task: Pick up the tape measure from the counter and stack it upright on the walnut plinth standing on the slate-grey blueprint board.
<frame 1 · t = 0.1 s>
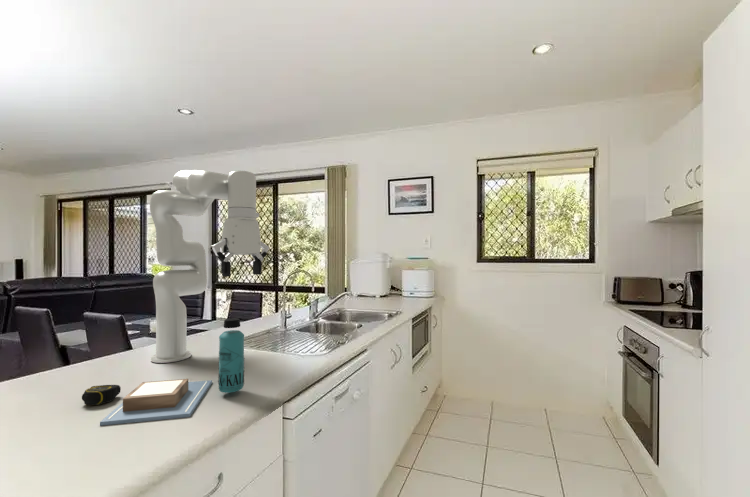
hand: (242, 275, 101), 31 cm above the worktop, fingers open, 9 cm apart
beverage bottle: (231, 394, 94), on the worktop
blueprint board: (163, 401, 90), on the worktop
tape measure: (100, 402, 91), on the worktop
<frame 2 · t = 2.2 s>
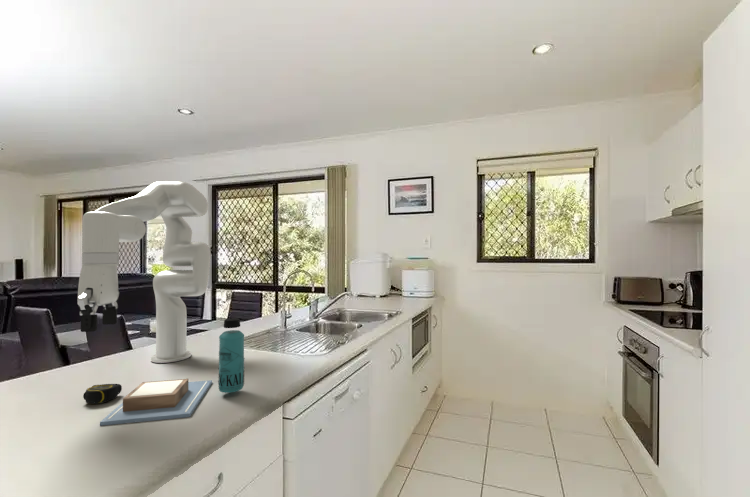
hand: (99, 327, 90), 19 cm above the worktop, fingers open, 9 cm apart
nothing on the worktop moved.
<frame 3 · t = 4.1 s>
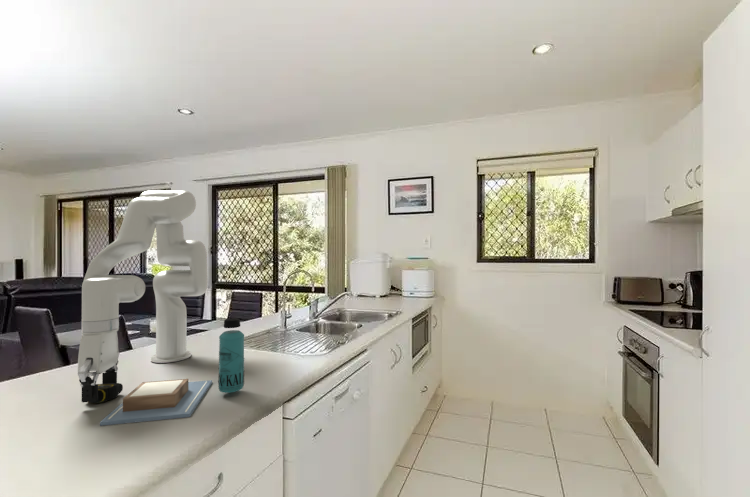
hand: (100, 393, 90), 2 cm above the worktop, fingers open, 8 cm apart
tape measure: (102, 400, 92), on the worktop, touching gripper
everything else where it was.
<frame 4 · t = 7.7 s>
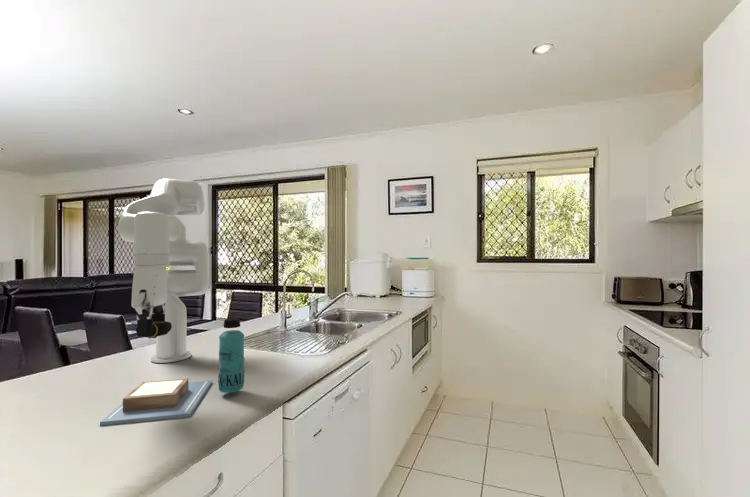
hand: (151, 331, 89), 18 cm above the worktop, fingers closed on tape measure, 6 cm apart
tape measure: (152, 337, 90), point 16 cm above the worktop, touching gripper
everything else where it was.
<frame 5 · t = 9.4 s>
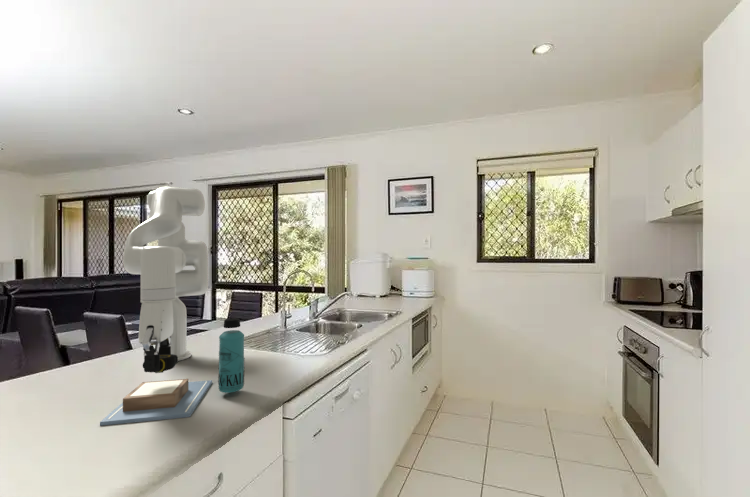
hand: (158, 365, 89), 9 cm above the worktop, fingers closed on tape measure, 6 cm apart
tape measure: (159, 371, 90), point 8 cm above the worktop, touching gripper
everything else where it was.
when the fingers open (7 cm above the worktop, at t = 10.9 s): tape measure drops 2 cm, resting on blueprint board.
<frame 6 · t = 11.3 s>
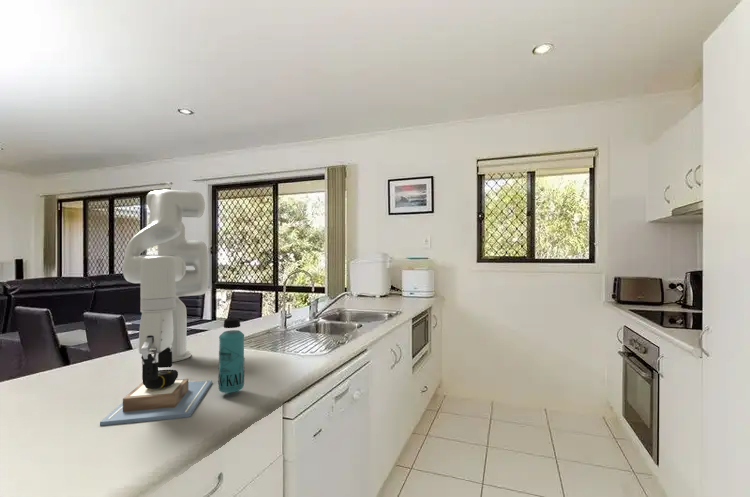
hand: (158, 373, 89), 8 cm above the worktop, fingers open, 9 cm apart
tape measure: (159, 387, 90), point 4 cm above the worktop, touching blueprint board
everything else where it was.
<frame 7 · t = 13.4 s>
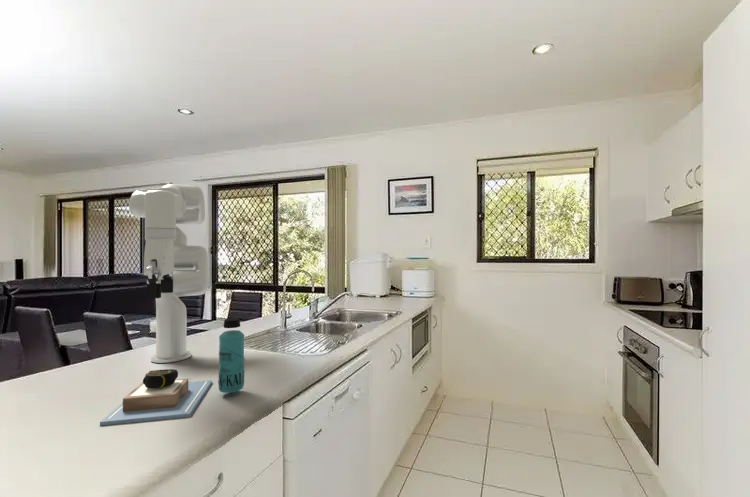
hand: (160, 295, 101), 26 cm above the worktop, fingers open, 9 cm apart
nothing on the worktop moved.
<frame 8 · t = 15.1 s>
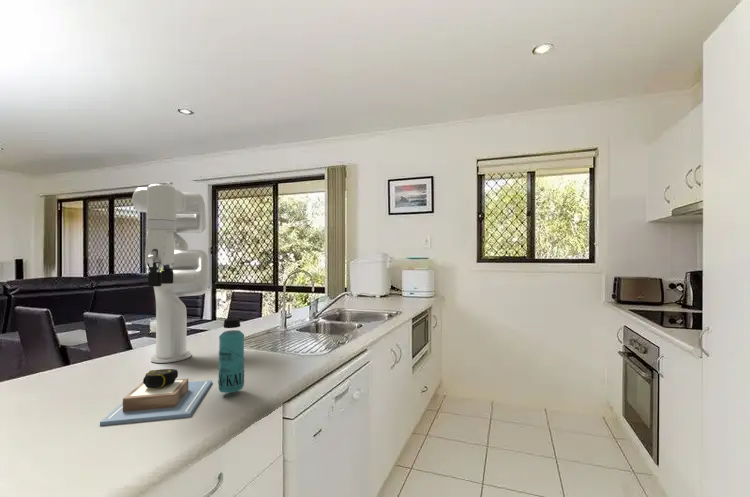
hand: (161, 284, 105), 28 cm above the worktop, fingers open, 9 cm apart
nothing on the worktop moved.
at the end: tape measure inside the target area on the blueprint board (1.6 cm from its centre), point 3.7 cm above the blueprint board's base; tape measure tilted 2°; the gripper is holding nothing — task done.
